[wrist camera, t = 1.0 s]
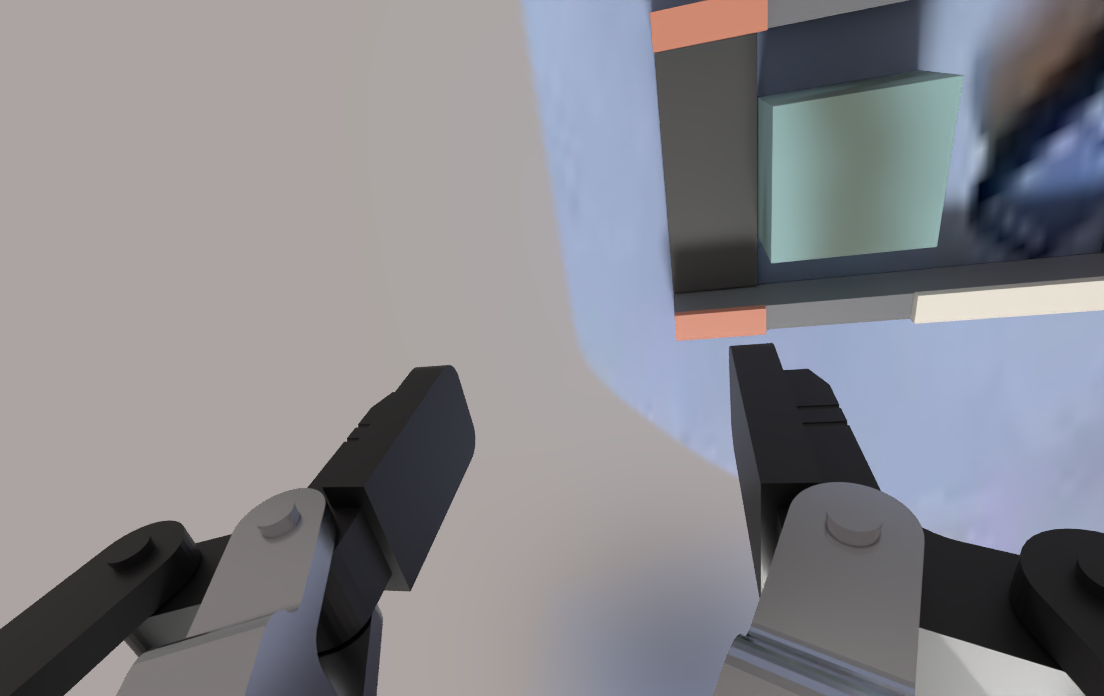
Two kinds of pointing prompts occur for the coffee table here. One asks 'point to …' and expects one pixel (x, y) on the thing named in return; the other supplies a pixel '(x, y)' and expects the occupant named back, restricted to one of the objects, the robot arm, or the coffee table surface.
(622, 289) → the coffee table surface
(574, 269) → the coffee table surface
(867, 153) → the teal block
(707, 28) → the open tray box
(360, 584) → the robot arm
